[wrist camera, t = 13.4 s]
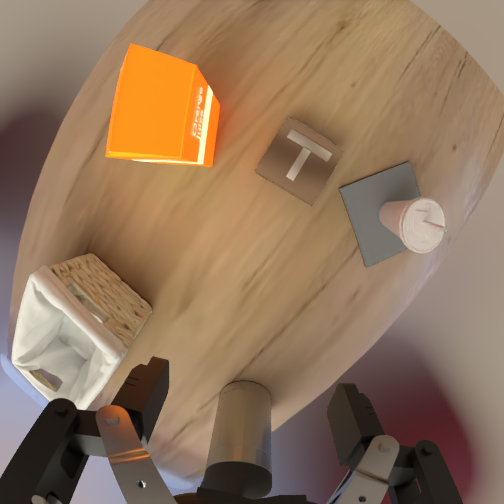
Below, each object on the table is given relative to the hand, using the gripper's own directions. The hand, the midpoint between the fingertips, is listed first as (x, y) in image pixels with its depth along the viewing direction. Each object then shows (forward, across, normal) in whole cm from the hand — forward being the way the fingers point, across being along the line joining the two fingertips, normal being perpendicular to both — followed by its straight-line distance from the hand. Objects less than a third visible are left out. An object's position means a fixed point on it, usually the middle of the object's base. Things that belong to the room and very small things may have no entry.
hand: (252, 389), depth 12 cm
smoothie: (+26, -18, -9) cm, 33 cm away
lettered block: (+27, -3, -13) cm, 30 cm away
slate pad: (+27, -18, -9) cm, 33 cm away
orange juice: (+27, +12, -15) cm, 33 cm away
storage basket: (+28, +26, +17) cm, 42 cm away
